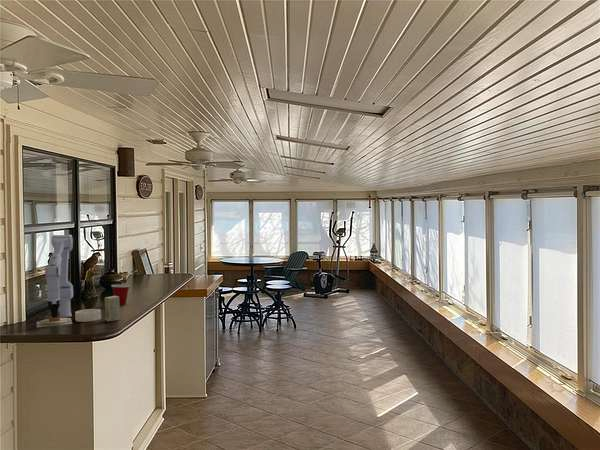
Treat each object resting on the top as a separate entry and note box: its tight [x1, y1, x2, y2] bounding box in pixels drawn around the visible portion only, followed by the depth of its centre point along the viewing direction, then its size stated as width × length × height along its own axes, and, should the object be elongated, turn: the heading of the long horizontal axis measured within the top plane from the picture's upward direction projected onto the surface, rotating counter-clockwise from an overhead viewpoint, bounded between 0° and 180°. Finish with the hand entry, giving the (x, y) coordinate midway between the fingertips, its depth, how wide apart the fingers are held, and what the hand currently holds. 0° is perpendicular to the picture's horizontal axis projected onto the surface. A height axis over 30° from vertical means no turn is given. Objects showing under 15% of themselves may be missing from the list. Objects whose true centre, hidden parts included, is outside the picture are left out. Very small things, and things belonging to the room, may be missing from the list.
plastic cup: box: [111, 284, 131, 306], centre depth 318 cm, size 11×11×12 cm
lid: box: [39, 311, 70, 326], centre depth 266 cm, size 14×14×6 cm
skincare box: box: [104, 295, 121, 322], centre depth 271 cm, size 6×4×12 cm
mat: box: [36, 317, 73, 328], centre depth 266 cm, size 16×16×1 cm
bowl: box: [74, 308, 102, 323], centre depth 273 cm, size 12×12×4 cm
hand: (54, 316), depth 266 cm, fingers open, 7 cm apart
